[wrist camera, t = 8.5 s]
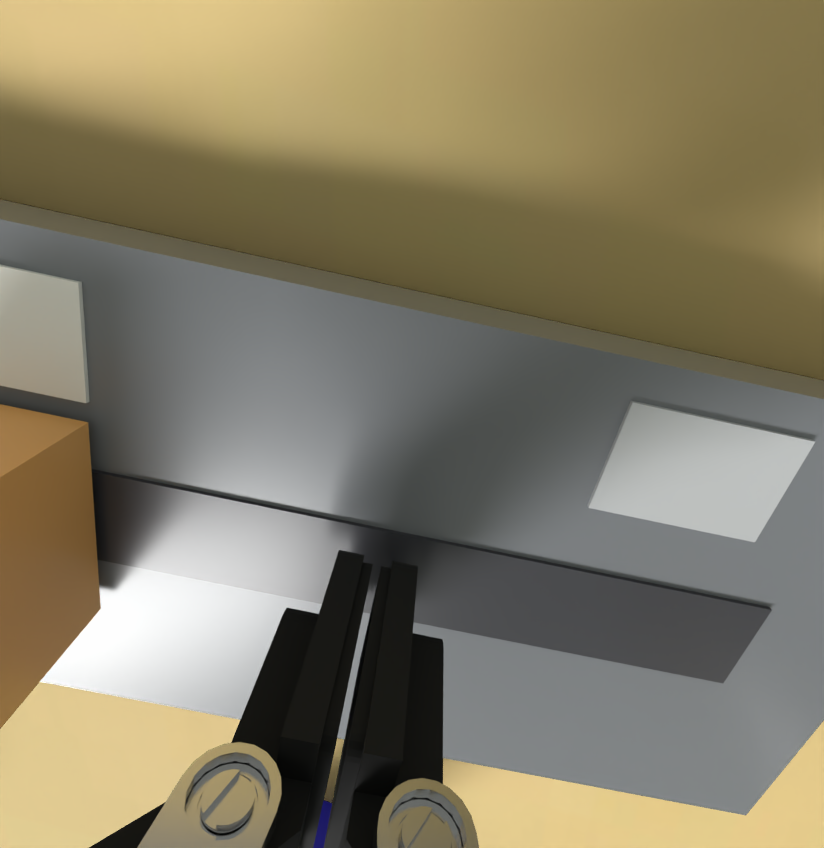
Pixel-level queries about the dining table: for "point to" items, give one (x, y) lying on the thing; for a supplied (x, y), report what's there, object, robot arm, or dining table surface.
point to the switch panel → (433, 503)
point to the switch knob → (43, 546)
